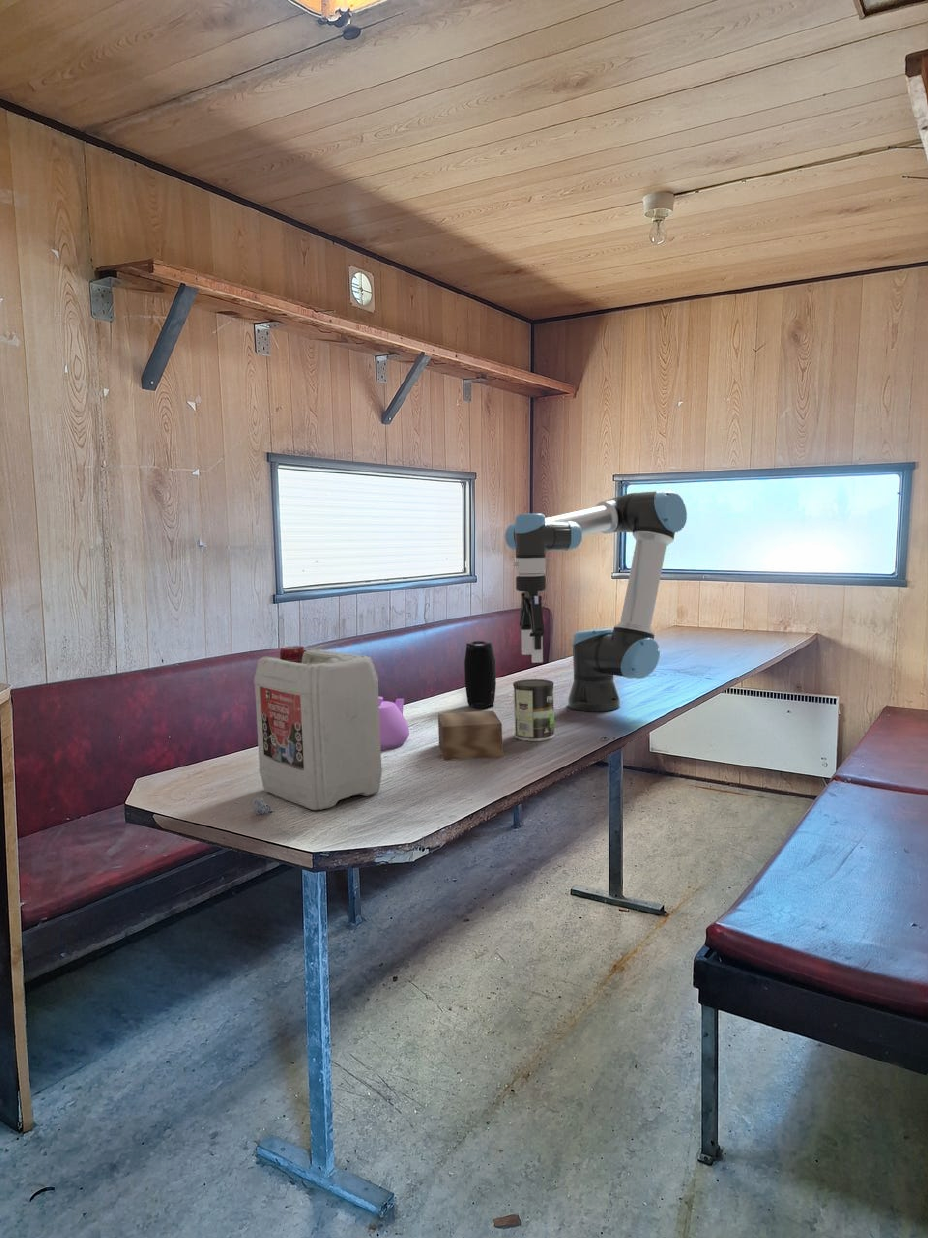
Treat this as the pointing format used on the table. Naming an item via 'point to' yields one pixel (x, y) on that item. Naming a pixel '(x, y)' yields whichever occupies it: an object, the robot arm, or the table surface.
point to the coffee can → (533, 709)
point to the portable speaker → (479, 674)
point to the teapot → (392, 724)
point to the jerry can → (318, 726)
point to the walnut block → (470, 735)
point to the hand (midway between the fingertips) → (531, 658)
